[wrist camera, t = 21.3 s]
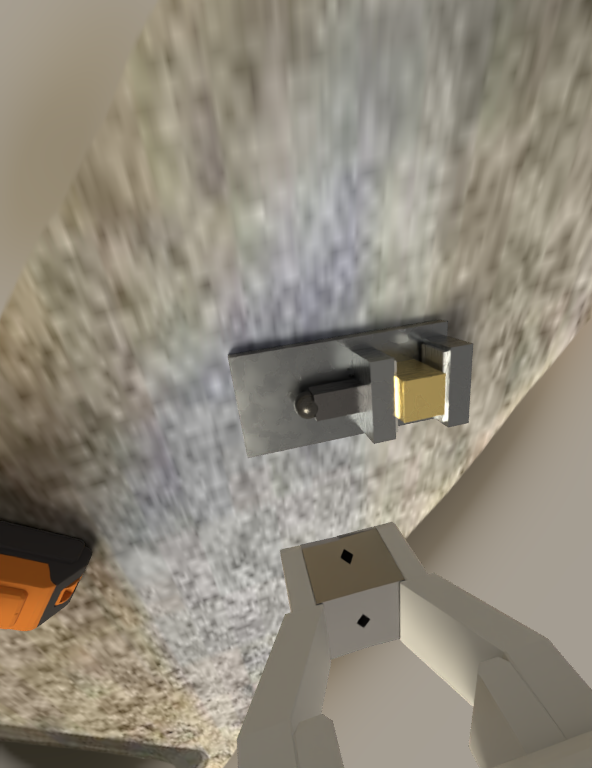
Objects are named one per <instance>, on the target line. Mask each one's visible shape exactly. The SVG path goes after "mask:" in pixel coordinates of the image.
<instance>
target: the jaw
mask: <svg viewBox="0 0 592 768" xmlns="http://www.w3.org/2000/svg"><path fill="white" fill-rule="evenodd" d="M352 360H353V375H354V379H350V380H345V381H339V382H334V383H329V384H323V385H318V386H313V387H308V391H304V392H301V393H300V394H298V395H297V397H296V398H295V401H294V409H295V412H296V413H297V415H298V416H300V417H301V418H304V419H312V418H315V420H316V421H321V420H326V419H331V418H336V417H341V416H346V415H351V414H356V420H357V425H358V426H359V427H360V428H361V429H362V430H363V432H364V433H365V434H366V435H367V436H368V437H369V439H370V440H371V441H372V442H373V443H374V444H375V443H380V442H384V441H389V440H394V439H396V432H398V407H397V361H396V360H394V358H393V357H391V356H389V355H387V354H385V353H383V352H381V351H379V350H377V349H375V348H374V347H372V348H366V349H361V350H355V351H352Z"/></svg>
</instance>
